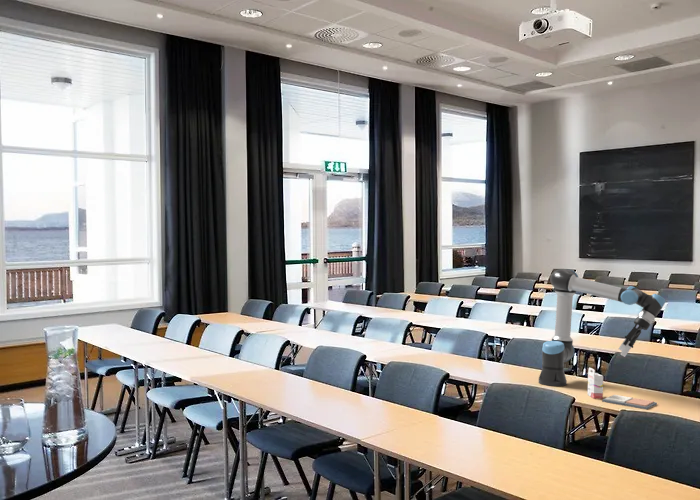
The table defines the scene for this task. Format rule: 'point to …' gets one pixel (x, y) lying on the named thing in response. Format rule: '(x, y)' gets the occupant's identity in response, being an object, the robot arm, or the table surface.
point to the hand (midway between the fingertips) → (621, 353)
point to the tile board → (630, 402)
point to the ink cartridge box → (595, 384)
